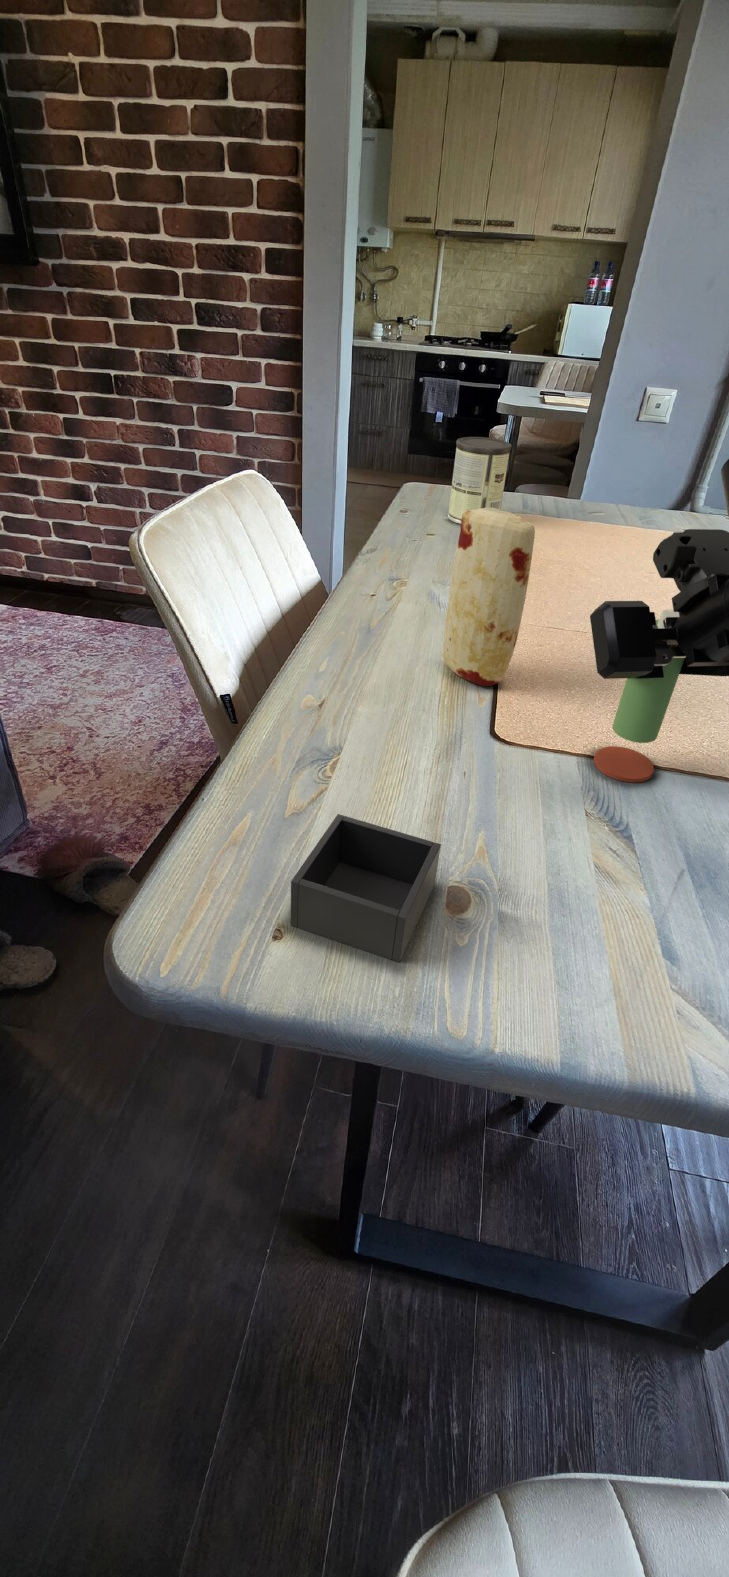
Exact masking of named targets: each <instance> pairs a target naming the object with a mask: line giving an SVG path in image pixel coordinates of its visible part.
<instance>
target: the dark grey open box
mask: <svg viewBox="0 0 729 1577" xmlns="http://www.w3.org/2000/svg"><path fill="white" fill-rule="evenodd" d="M441 848H442V844H441V843H439V842H434V841H432V840H429V839H425V838H421V837H418V836H414V835H411V834H408V833H404V832H401V831H398V830H394V829H391V828H387V827H384V826H381V825H378V824H373V823H370V822H367V821H364V820H360V819H357V818H353V817H350V816H348V815H347V816H346V815H343V814H340V813H337V815H336V816H335V817H334V818H333V820H332V822H331V823H330V824H329V826H328V827H327V829H326V830H325V832H324V833H323V834H322V836H321V837H320V839H319V840H318V842H317V843H316V844H315V846H314V847H313V849H312V850H311V852H310V853H309V855H308V856H307V857H306V858H305V860H304V862H303V863H302V865H301V866H300V868H299V869H298V870H297V872H296V873H295V875H294V876H293V877H292V879H291V880H290V927H293V928H296V929H298V930H302V931H304V932H308V933H311V934H313V935H316V936H319V937H323V938H325V939H328V940H330V941H334V942H337V943H340V944H342V945H346V946H348V947H352V948H354V949H357V950H360V951H363V952H366V953H369V954H372V955H374V956H377V957H380V958H383V959H386V960H389V961H391V962H395V963H398V964H400V963H401V961H402V959H403V956H404V954H405V952H406V950H407V947H408V946H409V943H410V941H411V939H412V937H413V934H414V932H415V930H416V928H417V925H418V924H419V922H420V919H421V917H422V915H423V912H424V910H425V909H426V906H427V904H428V901H429V899H430V897H431V894H432V892H433V891H434V888H435V883H436V878H437V872H438V864H439V859H440V853H441Z"/></svg>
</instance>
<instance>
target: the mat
mask: <svg viewBox="0 0 729 1577" xmlns="http://www.w3.org/2000/svg"><path fill="white" fill-rule="evenodd" d="M593 764H594V766H595V767H596V769H597V770H598V771H599V772H600V773H602V774H603V775H605V776H607V777H608V778H611V779H613V780H615V781H619V782H624V783H632V784H634V783H635V784H637V783H642V782H645V781H648V780H649V779H651V777H653V774H654V771H655V767H654V764H653V762H652V761H651V759H649V758H648V757H647V756H646V755H644V754H643V753H640V752H639V751H636V750H634V749H632V748H627V747H623V746H605V747H601V748H600V749H598V750H597V751H596V752H595V753H594V758H593Z"/></svg>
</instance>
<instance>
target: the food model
mask: <svg viewBox="0 0 729 1577" xmlns="http://www.w3.org/2000/svg"><path fill="white" fill-rule="evenodd" d="M459 530H460V531H459V535H458V539H457V544H456V550H455V555H454V561H453V565H452V571H451V579H450V588H449V597H448V602H447V608H446V614H445V622H444V640H443V649H442V659H443V661H444V663H445V664H446V665H447V667H448V668H449V669H450V670H451V671H452V672H453V673H455V674H456V675H457V676H459V677H460V678H463V679H464V680H466V681H469V682H471V683H472V684H475V685H477V686H478V685H479V686H481V687H490V686H491V687H492V686H494V685H497V684H499V683H501V682H502V680H503V678H504V677H505V675H506V672H507V670H508V668H509V666H510V663H511V661H512V657H513V655H514V652H515V649H516V644H517V640H518V636H519V632H520V627H521V622H522V619H523V618H522V617H523V612H524V607H525V604H526V602H525V601H526V596H527V591H528V586H529V580H530V573H531V566H532V560H533V553H534V552H533V551H534V545H535V535H536V529H535V525H534V524H533V523H531V522H529V521H525V520H523V519H522V517H521V516H519V515H518V514H517V515H516V514H515V513H512V512H510V511H506V510H502V509H500V510H499V509H496V508H490V507H486V508H481V509H476V510H468V511H465V512H464V513H463V515H462V521H461V524H460V528H459Z"/></svg>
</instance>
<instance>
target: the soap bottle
mask: <svg viewBox="0 0 729 1577" xmlns="http://www.w3.org/2000/svg"><path fill="white" fill-rule="evenodd" d="M667 617H679V612H674V611H673V609H663V610H661V612H660V616H659V619H656V625H657V626H658V628H664V624H663V620H664V619H665V618H667ZM671 647H672V646H671ZM675 647H676V646H675ZM684 659H685V658H672V660H671V662H670V663H669V664H667V665H665V666H663V673H664V678H649V679H635V678H626V680H625V683H624V686H623V690H622V694H621V696H620V700H619V703H618V706H617V710H616V712H615V716H614V719H613V722H612V731H613V732H614V733H615V734H616V735H617V736H619V738H622V739H624V740H626V741H630V742H633V743H639V744H647V743H648V744H649V743H652V742H654V741H656V740H657V738H658V736H659V734H660V730H661V727H662V724H663V721H664V718H665V716H666V713H667V710H668V707H669V704H670V701H671V699H672V696H673V693H674V690H675V687H676V685H677V681H678V679H679V677H680V674H679V673H680V670H681V667H682V665H683V662H684Z"/></svg>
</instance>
